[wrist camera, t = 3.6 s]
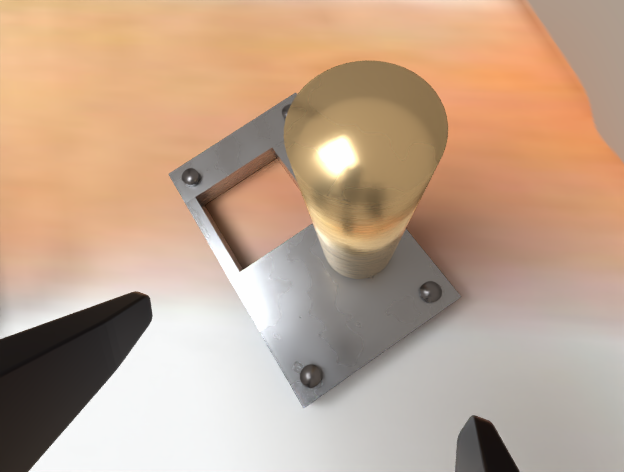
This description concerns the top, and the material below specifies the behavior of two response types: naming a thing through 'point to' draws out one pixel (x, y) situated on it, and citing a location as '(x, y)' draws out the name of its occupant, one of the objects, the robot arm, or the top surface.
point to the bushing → (364, 158)
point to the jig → (310, 274)
